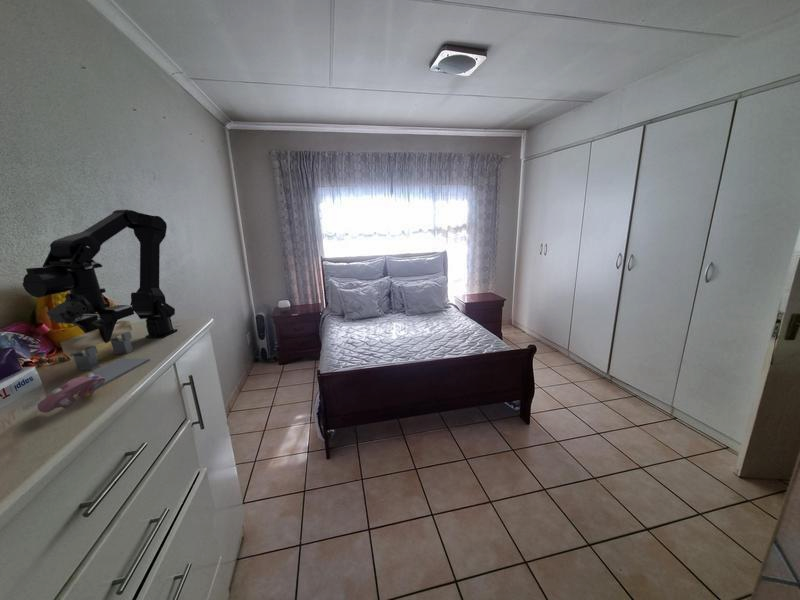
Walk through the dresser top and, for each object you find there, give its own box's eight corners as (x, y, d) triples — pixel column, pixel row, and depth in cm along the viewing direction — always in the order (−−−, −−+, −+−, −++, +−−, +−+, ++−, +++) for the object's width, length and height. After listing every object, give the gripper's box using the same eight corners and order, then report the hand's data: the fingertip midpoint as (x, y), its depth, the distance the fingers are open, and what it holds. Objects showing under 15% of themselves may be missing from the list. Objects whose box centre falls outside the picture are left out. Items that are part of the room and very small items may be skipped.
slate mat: (120, 359, 87) (120, 358, 87) (150, 360, 87) (149, 358, 86) (55, 391, 72) (54, 389, 72) (90, 392, 71) (90, 390, 71)
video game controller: (51, 423, 63) (56, 401, 60) (33, 410, 63) (37, 387, 61) (105, 395, 72) (111, 374, 70) (89, 383, 72) (94, 363, 70)
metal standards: (118, 350, 94) (112, 331, 92) (135, 350, 93) (130, 331, 92) (75, 370, 82) (68, 349, 80) (94, 370, 82) (87, 349, 80)
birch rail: (123, 330, 94) (120, 320, 93) (132, 330, 94) (129, 320, 93) (64, 353, 78) (60, 342, 78) (74, 353, 78) (71, 342, 77)
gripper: (14, 295, 75) (36, 355, 79) (84, 295, 73) (103, 355, 78) (65, 285, 86) (82, 337, 90) (128, 284, 84) (142, 338, 88)
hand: (101, 342), depth 86 cm, fingers closed on birch rail, 3 cm apart
